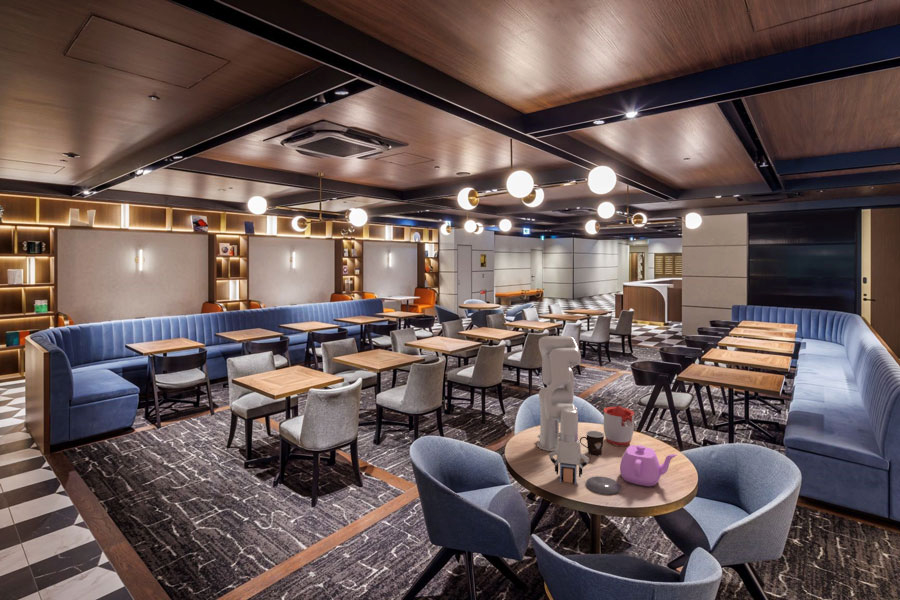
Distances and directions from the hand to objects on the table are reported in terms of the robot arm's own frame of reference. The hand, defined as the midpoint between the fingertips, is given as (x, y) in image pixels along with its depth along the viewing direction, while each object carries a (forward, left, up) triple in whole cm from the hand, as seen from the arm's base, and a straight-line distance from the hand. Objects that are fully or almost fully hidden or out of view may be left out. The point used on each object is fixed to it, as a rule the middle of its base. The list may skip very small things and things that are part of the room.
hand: (568, 474), depth 199 cm
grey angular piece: (0, 0, -3) cm, 3 cm away
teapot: (+13, +30, -3) cm, 33 cm away
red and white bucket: (-22, +51, -3) cm, 56 cm away
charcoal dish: (+11, +10, -3) cm, 15 cm away
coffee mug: (-18, +29, -3) cm, 35 cm away
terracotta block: (0, 0, -3) cm, 3 cm away
